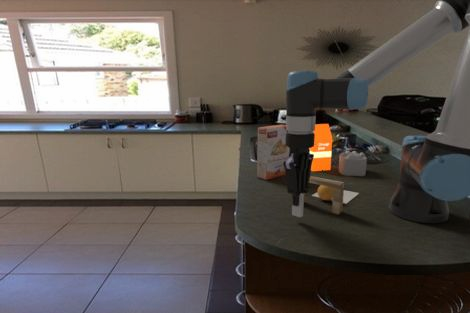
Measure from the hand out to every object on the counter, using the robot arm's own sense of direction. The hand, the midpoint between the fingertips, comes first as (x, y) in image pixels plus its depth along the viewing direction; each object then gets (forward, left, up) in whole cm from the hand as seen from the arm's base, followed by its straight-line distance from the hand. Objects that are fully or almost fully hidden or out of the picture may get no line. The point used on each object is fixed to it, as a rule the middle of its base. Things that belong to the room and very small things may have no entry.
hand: (297, 215), depth 88 cm
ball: (+1, -21, +1) cm, 21 cm away
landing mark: (0, -27, -2) cm, 27 cm away
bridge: (0, -13, -2) cm, 13 cm away
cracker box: (+29, -33, -2) cm, 44 cm away
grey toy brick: (+6, -59, -2) cm, 59 cm away
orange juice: (+20, -55, -2) cm, 59 cm away
